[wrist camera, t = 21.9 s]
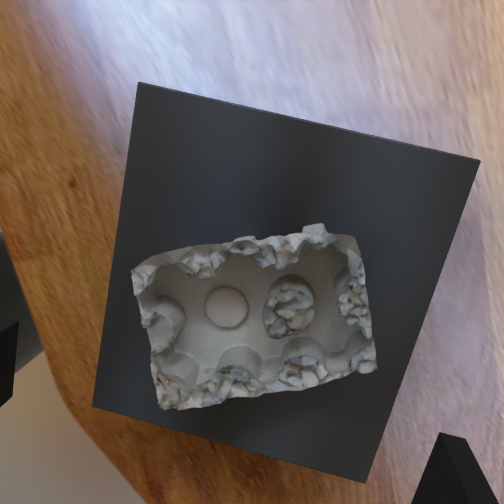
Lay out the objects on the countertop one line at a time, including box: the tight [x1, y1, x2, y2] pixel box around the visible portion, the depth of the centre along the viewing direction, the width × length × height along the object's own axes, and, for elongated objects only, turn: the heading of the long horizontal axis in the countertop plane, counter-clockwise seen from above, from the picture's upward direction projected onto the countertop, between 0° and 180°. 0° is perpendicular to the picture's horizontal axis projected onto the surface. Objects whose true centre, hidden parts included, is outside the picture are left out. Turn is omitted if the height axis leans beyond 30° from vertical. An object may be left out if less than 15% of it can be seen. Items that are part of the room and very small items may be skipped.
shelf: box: [92, 82, 480, 484], centre depth 26 cm, size 16×18×6 cm
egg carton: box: [131, 223, 377, 410], centre depth 21 cm, size 11×8×4 cm
